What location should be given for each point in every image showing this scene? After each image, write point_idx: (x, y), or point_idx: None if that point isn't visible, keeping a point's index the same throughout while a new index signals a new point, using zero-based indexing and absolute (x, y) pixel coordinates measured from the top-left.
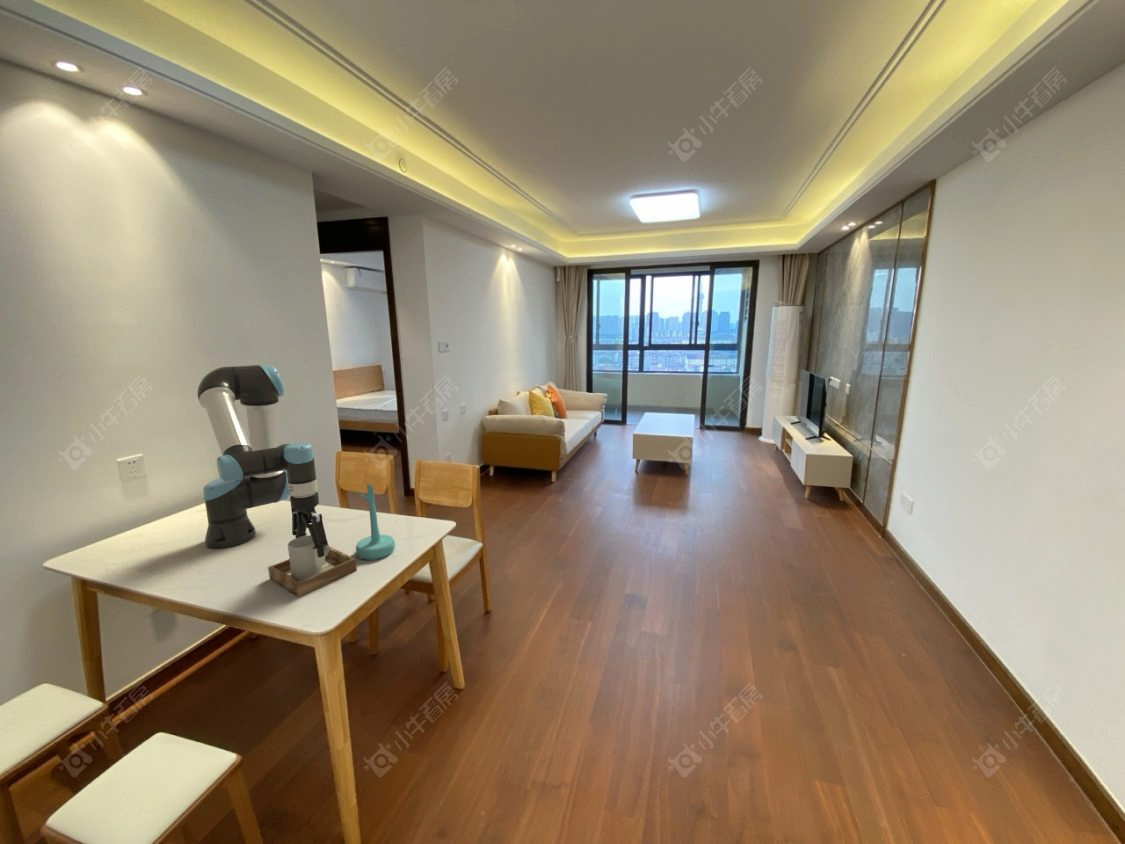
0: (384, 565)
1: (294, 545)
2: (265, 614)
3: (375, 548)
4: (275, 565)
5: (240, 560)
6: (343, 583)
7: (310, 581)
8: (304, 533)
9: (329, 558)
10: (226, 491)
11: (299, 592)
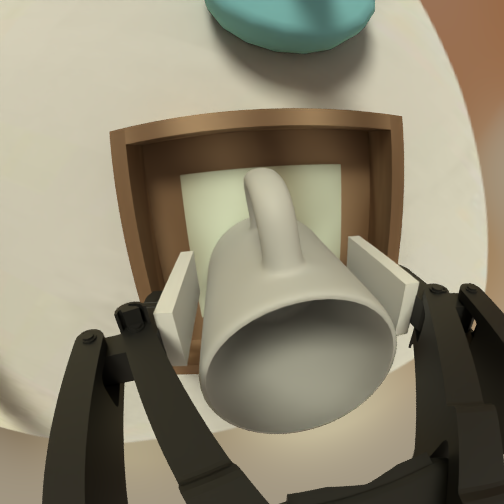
0: (409, 53)
1: (218, 377)
2: None
3: (365, 9)
4: None
5: (18, 337)
6: (410, 202)
7: None
8: (158, 343)
9: (192, 143)
10: None
11: None
